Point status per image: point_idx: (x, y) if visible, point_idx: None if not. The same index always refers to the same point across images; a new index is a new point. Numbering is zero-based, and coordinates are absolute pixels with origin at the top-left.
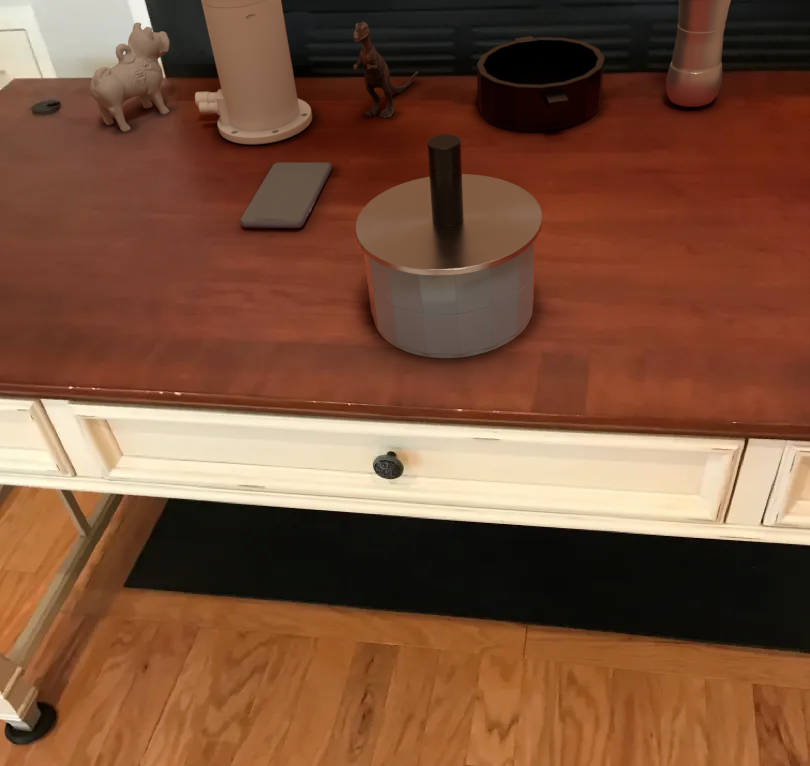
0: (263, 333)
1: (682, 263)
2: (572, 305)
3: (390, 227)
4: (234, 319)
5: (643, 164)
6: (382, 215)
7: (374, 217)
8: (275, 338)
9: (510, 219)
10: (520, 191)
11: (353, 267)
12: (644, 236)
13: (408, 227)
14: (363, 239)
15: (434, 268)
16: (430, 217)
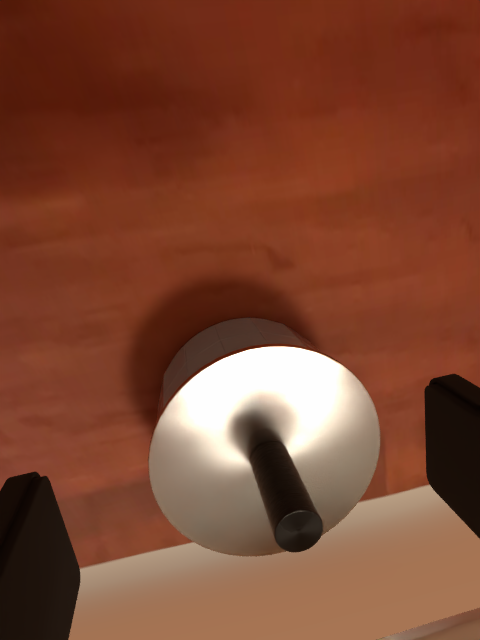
0: (58, 487)
1: (462, 261)
2: (361, 361)
3: (204, 494)
4: (9, 476)
5: (419, 2)
6: (182, 472)
7: (174, 480)
8: (76, 490)
9: (344, 441)
10: (345, 376)
11: (99, 350)
12: (424, 212)
13: (227, 489)
14: (180, 526)
15: (283, 550)
16: (246, 461)
